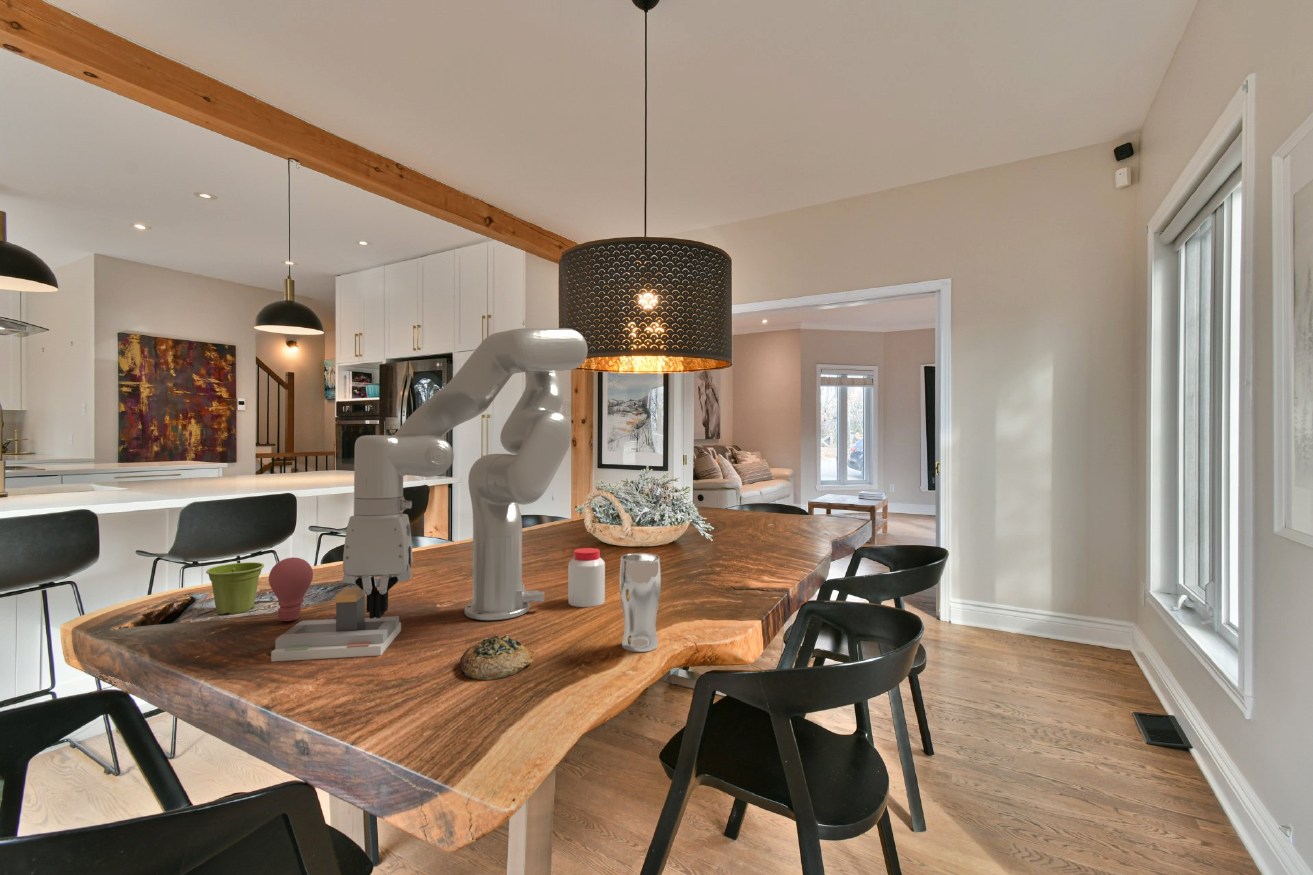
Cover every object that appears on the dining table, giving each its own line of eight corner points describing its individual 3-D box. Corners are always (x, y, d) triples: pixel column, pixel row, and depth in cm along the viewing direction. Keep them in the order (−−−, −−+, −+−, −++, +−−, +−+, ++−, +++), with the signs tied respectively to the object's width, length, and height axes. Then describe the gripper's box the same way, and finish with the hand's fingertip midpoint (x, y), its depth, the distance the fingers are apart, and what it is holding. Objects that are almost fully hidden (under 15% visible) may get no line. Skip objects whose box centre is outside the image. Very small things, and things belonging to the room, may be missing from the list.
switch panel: (401, 630, 104) (401, 613, 104) (380, 655, 92) (380, 636, 92) (304, 635, 102) (304, 618, 102) (271, 661, 90) (271, 642, 90)
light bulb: (321, 615, 113) (321, 554, 113) (295, 627, 105) (295, 562, 105) (287, 614, 113) (287, 553, 113) (259, 626, 106) (259, 561, 106)
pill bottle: (589, 609, 117) (589, 555, 117) (560, 603, 121) (560, 551, 121) (612, 600, 124) (612, 549, 124) (584, 595, 128) (584, 545, 128)
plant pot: (272, 608, 117) (272, 565, 117) (218, 620, 109) (218, 575, 109) (251, 601, 122) (251, 560, 122) (197, 612, 114) (197, 568, 114)
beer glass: (629, 656, 92) (630, 562, 92) (612, 642, 99) (613, 554, 98) (668, 649, 96) (668, 558, 96) (649, 636, 102) (649, 551, 102)
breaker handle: (365, 628, 100) (365, 586, 100) (355, 638, 95) (356, 594, 95) (345, 629, 99) (345, 587, 99) (335, 639, 95) (335, 595, 95)
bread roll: (472, 650, 94) (476, 621, 94) (539, 661, 94) (543, 631, 94) (444, 682, 83) (449, 648, 83) (520, 694, 83) (524, 661, 83)
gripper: (429, 505, 103) (428, 607, 103) (339, 505, 100) (337, 611, 100) (420, 510, 95) (418, 620, 95) (322, 511, 93) (320, 625, 93)
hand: (377, 615), depth 98 cm, fingers closed
